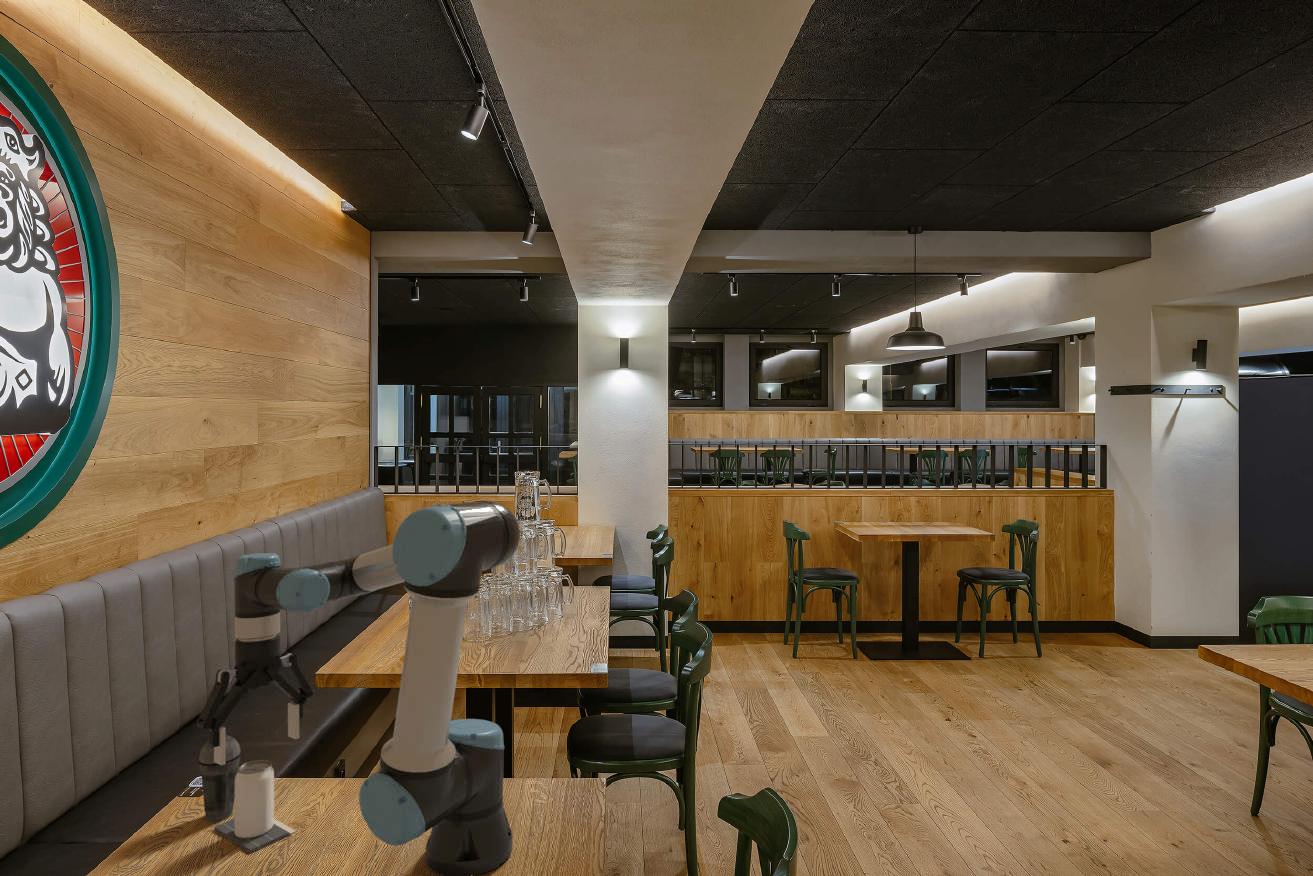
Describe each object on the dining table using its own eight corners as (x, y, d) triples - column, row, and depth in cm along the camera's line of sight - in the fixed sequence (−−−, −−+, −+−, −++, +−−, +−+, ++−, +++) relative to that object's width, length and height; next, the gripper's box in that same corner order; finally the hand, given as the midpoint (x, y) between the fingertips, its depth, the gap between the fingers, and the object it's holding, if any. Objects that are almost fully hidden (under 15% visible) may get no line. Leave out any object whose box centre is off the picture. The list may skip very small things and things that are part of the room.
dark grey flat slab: (295, 832, 135) (295, 829, 135) (250, 853, 129) (250, 850, 129) (259, 811, 143) (259, 808, 143) (214, 830, 136) (214, 826, 136)
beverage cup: (244, 804, 146) (245, 705, 146) (235, 822, 139) (236, 719, 139) (203, 809, 144) (204, 709, 144) (192, 828, 137) (193, 723, 137)
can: (256, 842, 131) (256, 776, 131) (225, 837, 132) (226, 772, 133) (281, 823, 138) (282, 760, 138) (252, 819, 139) (252, 757, 139)
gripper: (310, 620, 148) (310, 723, 148) (175, 649, 127) (175, 769, 127) (331, 625, 144) (331, 731, 143) (194, 656, 123) (195, 780, 123)
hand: (258, 749), depth 135 cm, fingers open, 13 cm apart
